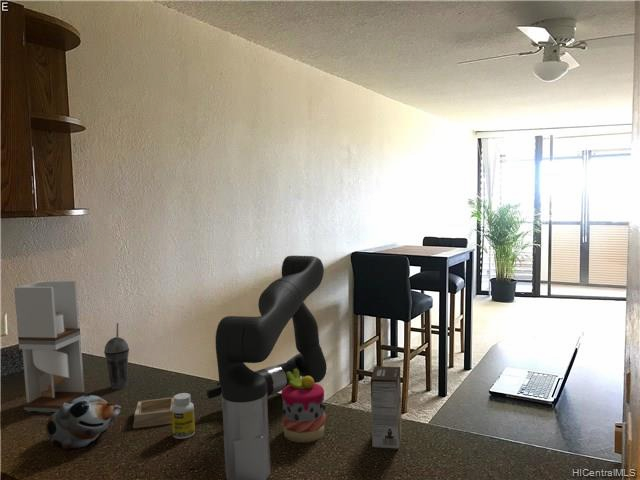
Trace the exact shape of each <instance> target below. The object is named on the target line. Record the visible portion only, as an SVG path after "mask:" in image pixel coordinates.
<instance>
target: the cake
mask: <svg viewBox="0 0 640 480" xmlns="http://www.w3.org/2000/svg"><path fill="white" fill-rule="evenodd" d="M286 375H287V378H288V379H289V380H290V382H289V384H290V385H288V386H286V387H285V388H284V389H283V390H281V405H282V414H283V418H281V422H282V423H283V434H284V435H283V436H284V437H285V439H287V440H289V441H291V442H294V443H310V442H315V441H317V440H319V439H322V437H323V436H324V435H325V424H326V419H327V415H326V413H325V411H324V410H326V408H327V407H326V406H325V405H324V401H325V389H324V387H323V386H322V385H320V384H319V383H314V379H313V378H312V377H311V376H305V377H302V376H300V377H299V371H298V369H294V370H293V374H292V373H291V372H290V371H289V372H287V373H286Z"/></svg>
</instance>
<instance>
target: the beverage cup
mask: <svg viewBox="0 0 640 480" xmlns="http://www.w3.org/2000/svg"><path fill="white" fill-rule="evenodd" d="M115 335H116V337H112V338H110V339H109V340H108V341H107V342H106V344H105V345H104V352H103V354H104V356H105V359H106V364H107V370H108V376H109V377H108V378H109V383H110V388H111V389H112V390H115V389H117V390H122V389H125V388H127V386H128V371H129V370H128V367H129V365H128V364H129V362H128V360H129V359H128V357H129V353H130V348H129V345H128V343H127V341H126V340H125V339H124V338H123V337H119V322H116V334H115Z"/></svg>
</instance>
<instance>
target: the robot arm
mask: <svg viewBox="0 0 640 480" xmlns="http://www.w3.org/2000/svg"><path fill="white" fill-rule="evenodd" d="M324 271H325V269H324V264H323V261H322V260H321V259H320V258H319V257H317V256H313V255H288V256H286V257H284V259H283V261H282V266H281V277H280V278H277V279H275V280H274V281H272V282H271V283H270V284H269V285H268V286H267V287H266V288H265V289H264V290H263V291H262V293H261V294H260V296H259V297H258V303H257V304H258V311H259V314H260V315H259V316H246V315H245V316H242V315H241V316H237V315H235V316H234V315H227V316H224V317H223V318H221V320H220V321H219V322H218V324H217V327H216V330H215V331H216V332H215V353H216V363H217V370H218V371H217V372H218V382H217V383H216V387H214V388H211V389H208V390H207V391H206V397H207V398H208V399H209V400H211V399H214V398H216V397H220V396H221V402H222V405H221V406H222V424H223V443H224V461H225V462H224V463H225V477H226V480H267V479H268V478H269V477H270V475H271V472H272V471H271V451H270V450H271V449H270V431H269V429H270V428H269V427H270V426H269V405H268V404H269V403H268V402H269V401H268V397H270V396H273V395H275V394H278V393H279V392H282V390H283V389H284V388H285V387H286V386H288V385H290V384H289V382H290V380H289V379H288V378H287V375H286V373H287V372H289V371H290V372H291V373H292V374H293V370H294V369H298V371H299V377H300V378H302V377H305V376H311V377H312V378H313V379H314V383H316V384H319V383H321V382H322V381H323V380H324V378H325V377H326V374H327V369H328V368H327V367H328V366H327V362H326V358H325V355H324V353H323V350H322V347H321V344H320V335H319V325H318V323H317V320H316V318H315V316H314V315H313V314H312V312H311V310H310V309H309V308H308V307H307V305H306V304H305V301H306V299H307V298H309V296H310V295H312V293H314V292H315V291H316V290H317V289H318V288H319V287H320V285H321V283H322V281H323V277H324ZM291 319H292V324H293V325H292V326H293V331H294V333H293V334H294V341H295V348H296V350H297V352H298V354H297V353H296V354H295V355H294V356H293V357H291V358H290V359H288V360H287V361H286V362H283V363H280V364H277V365H273V366H268V367H265V368H261V369H258V370H252V369H250V367H248V366H247V365H246V363H247V364H258V363H262V362H264V361H265V360H267V359H268V358H269V356H270V355H271V353H272V351H273V350H274V348H275V346H276V345H277V342H278V339H279V337H281V334H282V332H283V331H284V328H286V326H287V325H288V323H289V321H290V320H291Z"/></svg>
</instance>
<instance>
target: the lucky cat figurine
mask: <svg viewBox="0 0 640 480" xmlns="http://www.w3.org/2000/svg"><path fill="white" fill-rule="evenodd" d="M121 411H122V406H121V405H118V404H114V403H113V402H108V401H107V400H105V399H103V398H102V397H100V396H98V395H95V394H93V395H85V396H82V397H79V398H76V399H74V400H72V401H71V402H70V403H69V404H68V403H66V402H65V403H63V405H62V406H61V408H60V410H59V411H57V412H55V413H52V415H50V416H49V417H48V419H47V423H46V427H45V428H46V429H45V430H46V435H47V437H48V439H49V441H50V443H51V444H52V445H57V446H59V447H60V449H62V450H68V449H69V450H70V449H71V450H72V449H77V448H85V447H86V446H88V445H89V444H90V443H91V442H94V441H95V440H96V439H97V438H98V437H99V436H100V435H101V434H102V432H104V431H105V430H106V429H107V428H109V425H111V424H112V422H113V421H115V420H116V419H117V418H118V416H119V415H120V413H121Z"/></svg>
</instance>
